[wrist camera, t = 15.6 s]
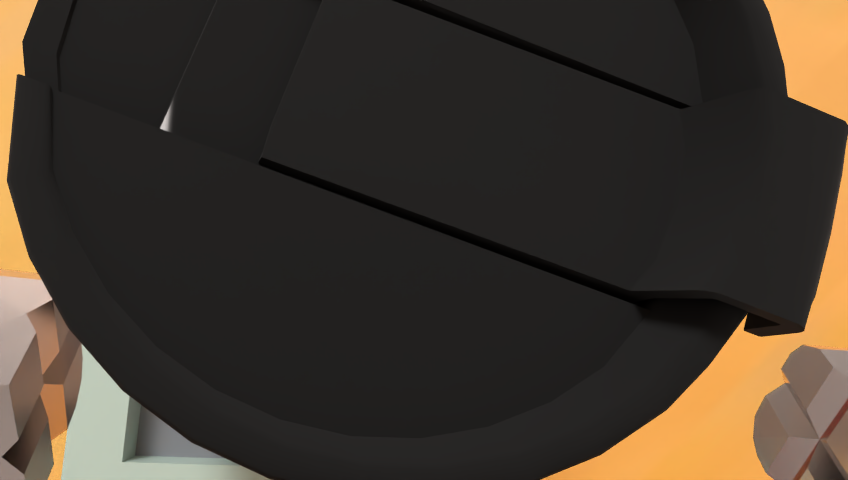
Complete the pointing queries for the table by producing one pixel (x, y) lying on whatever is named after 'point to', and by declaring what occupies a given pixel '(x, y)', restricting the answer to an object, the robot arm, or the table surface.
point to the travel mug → (416, 218)
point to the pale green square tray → (132, 439)
